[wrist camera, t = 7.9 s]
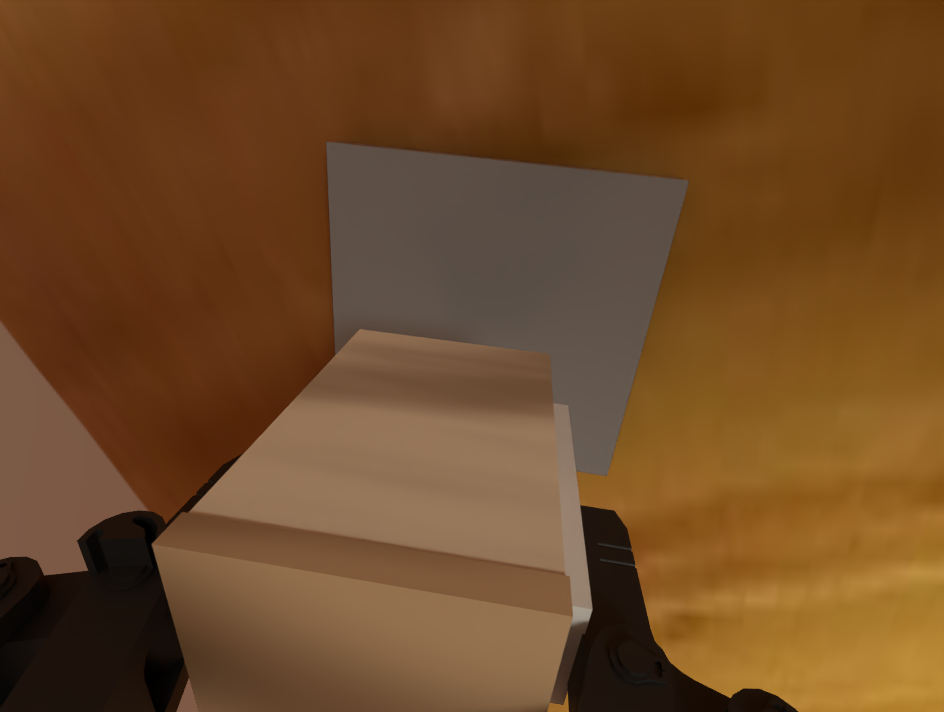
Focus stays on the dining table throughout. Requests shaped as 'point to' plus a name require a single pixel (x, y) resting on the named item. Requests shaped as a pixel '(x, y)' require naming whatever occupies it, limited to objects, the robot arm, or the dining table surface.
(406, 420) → the oak block
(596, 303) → the slate board
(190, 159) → the dining table surface
